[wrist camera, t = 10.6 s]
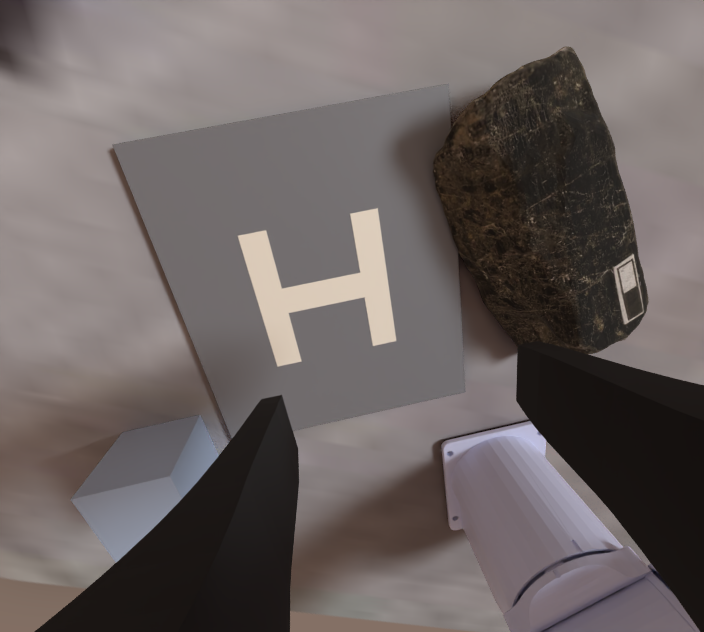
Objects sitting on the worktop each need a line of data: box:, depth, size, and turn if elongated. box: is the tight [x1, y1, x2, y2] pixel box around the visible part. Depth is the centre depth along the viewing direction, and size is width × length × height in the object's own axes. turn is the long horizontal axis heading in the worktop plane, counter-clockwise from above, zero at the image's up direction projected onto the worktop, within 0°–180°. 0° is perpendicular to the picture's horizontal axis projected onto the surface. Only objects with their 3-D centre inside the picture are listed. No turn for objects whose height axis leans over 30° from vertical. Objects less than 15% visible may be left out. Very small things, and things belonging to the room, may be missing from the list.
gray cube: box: [70, 415, 218, 562], centre depth 20 cm, size 5×5×5 cm
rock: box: [433, 47, 648, 354], centre depth 17 cm, size 8×16×4 cm, turn 33°
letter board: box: [113, 84, 465, 438], centre depth 19 cm, size 18×16×1 cm
